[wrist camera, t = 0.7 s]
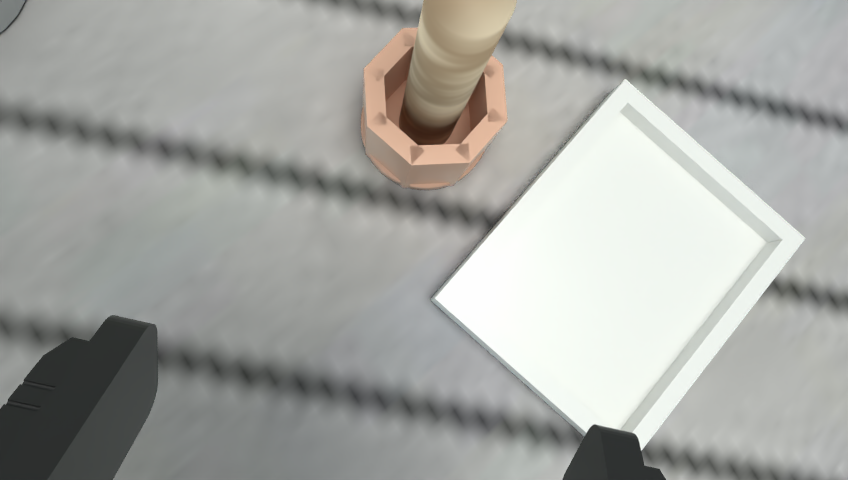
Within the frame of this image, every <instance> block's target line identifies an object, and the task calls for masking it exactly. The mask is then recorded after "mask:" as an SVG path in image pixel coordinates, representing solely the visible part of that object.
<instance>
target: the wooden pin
mask: <svg viewBox="0 0 848 480" xmlns="http://www.w3.org/2000/svg"><path fill="white" fill-rule="evenodd" d="M516 2H517V0H424V1H423V6H422V11H421V16H420V20H419V25H418V30H417V35H416V40H415V44H414V49H413V54H412V59H411V64H410V68H409V73H408V78H407V83H406V88H405V92H404V97H403V102H402V107H401V112H400V116H399V128H400V130H401V131H403V132H404V133H405V134H406V135H407V136H408V137H409V138H410V139H412V140H413V141H414V142H415V143H416V144H417V145H443V144H444V143H445V142H446V141H447V140H448V139H449V137H450V136H451V134H452V132H453V130H454V128H455V126H456V124H457V122H458V120H459V118H460V116H461V114H462V112H463V110H464V108H465V106H466V104H467V102H468V100H469V98H470V96H471V94H472V92H473V90H474V88H475V87H476V85H477V83H478V81H479V79H480V77H481V75H482V73H483V71H484V69H485V67H486V65H487V63H488V61H489V59H490V57H491V55H492V53H493V51H494V49H495V47H496V45H497V43H498V41H499V39H500V37H501V36H502V34H503V32H504V30H505V28H506V26H507V24H508V22H509V20H510V18H511V16H512V14H513V12H514V9H515V6H516Z"/></svg>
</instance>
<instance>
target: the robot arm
mask: <svg viewBox="0 0 848 480" xmlns="http://www.w3.org/2000/svg"><path fill="white" fill-rule="evenodd" d="M24 2H25V0H0V32H2V31H3V30H4V29H6V28H7V26H8V25H9V24H10V23H11V22H12V21H13V20H14V19H15V17H16V16H17V15H18V13H19V11H20V10H21V8H22V6H23V4H24ZM157 386H158V351H157V328H156V325H154V324H150V323H146V322H141V321H137V320H133V319H128V318H124V317H119V316H115V315H112V316H110V317H108V318H107V319H106V320H105V321H104V322H103V324H102V325H101V327H100V328H99V329H98V331H97V332H96V333H95V335H94V336H93V337H92V339H91V340H90V341H86V340H81V339H77V338H70V339H69V340H67V341H66V342H64V343H62V344H61V345H59V346H58V347H56V348H55V349H53V350H51V351H50V352H48V353H47V354H45V355H43V357H42V358H41V359H40V360H39V362H38V363H37V364H36V365H35V366H34V368H33V369H32V370H31V371H30V373H29V374H28V375H27V376H26V378H25V379H24V382H23V384H22V385H21V384H20V385H19V386H18V388H17V389H16V390H15V391H14V393H13V394H12V395H11V396H10V398H9V399H8V402H7V404H6V405H3V406H2V407H1V409H0V480H113V478H114V476H115V474H116V473H117V471H118V469H119V467H120V465H121V464H122V462H123V460H124V458H125V457H126V455H127V453H128V451H129V449H130V448H131V446H132V444H133V442H134V440H135V439H136V437H137V435H138V433H139V432H140V430H141V428H142V426H143V424H144V423H145V421H146V419H147V417H148V415H149V413H150V411H151V408H152V406H153V403H154V400H155V396H156V392H157ZM563 480H666V479H665V477H664V476H663V474H662V473H661V471H660V469H657V468H652V467H647V466H644V462H643V457H642V452H641V448H640V443H639V440H638V437H637V436H636V434H634V433H631V432H627V431H622V430H618V429H613V428H609V427H604V426H600V425H596V424H594V425H592V426H591V427H590V428H589V430H588V431H587V433H586V435H585V437H584V439H583V441H582V443H581V444H580V446H579V448H578V450H577V452H576V454H575V456H574V457H573V459H572V461H571V463H570V465H569V467H568V469H567V470H566V472H565V474H564V477H563Z"/></svg>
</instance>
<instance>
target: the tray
mask: <svg viewBox="0 0 848 480" xmlns="http://www.w3.org/2000/svg"><path fill="white" fill-rule="evenodd" d="M804 239H805V237H803V236H802V235H801V234H800V233H799V232H798V231H797V230H795V229H794V228H793V227H792V226H791V225H790V224H789V223H788V222H786V221H785V220H784V219H783V218H782V217H781V216H780V215H779V214H777V213H776V212H775V211H774V210H773V209H772V208H771V207H770V206H768V205H767V204H766V203H765V202H764V201H763V200H762V199H760V198H759V197H758V196H757V195H756V194H755V193H754V192H753V191H751V190H750V189H749V188H748V187H747V186H746V185H745V184H744V183H742V182H741V181H740V180H739V179H738V178H737V177H736V176H734V175H733V174H732V173H731V172H730V171H729V170H728V169H727V168H725V167H724V166H723V165H722V164H721V163H720V162H719V161H718V160H716V159H715V158H714V157H713V156H712V155H711V154H710V153H708V152H707V151H706V150H705V149H704V148H703V147H702V146H701V145H699V144H698V143H697V142H696V141H695V140H694V139H693V138H692V137H690V136H689V135H688V134H687V133H686V132H685V131H684V130H682V129H681V128H680V127H679V126H678V125H677V124H676V123H675V122H673V121H672V120H671V119H670V118H669V117H668V116H667V115H666V114H664V113H663V112H662V111H661V110H660V109H659V108H658V107H656V106H655V105H654V104H653V103H652V102H651V101H650V100H649V99H647V98H646V97H645V96H644V95H643V94H642V93H641V92H640V91H638V90H637V89H636V88H635V87H634V86H633V85H632V84H630V83H629V82H628V81H627V80H626V79H625V80H624V81H623V82H621V83H620V84H619V85H618V86H617V87H616V88H615V89H614V90H613V91H611V92H610V93H609V94H608V95H607V97H606V98H605V99H604V100H603V101H602V102H601V104H600V105H599V106H598V107H597V108H596V109H595V110H594V112H593V113H592V114H591V115H590V116H589V117H588V118H587V120H586V121H585V122H584V123H583V124H582V125H581V127H580V128H579V129H578V130H577V131H576V132H575V133H574V135H573V136H572V137H571V138H570V139H569V140H568V141H567V143H566V144H565V145H564V146H563V147H562V148H561V150H560V151H559V152H558V153H557V154H556V155H555V156H554V158H553V159H552V160H551V161H550V162H549V163H548V164H547V166H546V167H545V168H544V169H543V170H542V171H541V172H540V174H539V175H538V176H537V177H536V178H535V179H534V181H533V182H532V183H531V184H530V185H529V186H528V187H527V189H526V190H525V191H524V192H523V193H522V194H521V195H520V197H519V198H518V199H517V200H516V201H515V202H514V204H513V205H512V206H511V207H510V208H509V209H508V210H507V212H506V213H505V214H504V215H503V216H502V217H501V218H500V220H499V221H498V222H497V223H496V224H495V225H494V226H493V228H492V229H491V230H490V231H489V232H488V233H487V235H486V236H485V237H484V238H483V239H482V240H481V241H480V243H479V244H478V245H477V246H476V247H475V248H474V249H473V251H472V252H471V253H470V254H469V255H468V256H467V258H466V259H465V260H464V261H463V262H462V263H461V264H460V266H459V267H458V268H457V269H456V270H455V271H454V272H453V274H452V275H451V276H450V277H449V278H448V279H447V280H446V282H445V283H444V284H443V285H442V286H441V287H440V289H439V290H438V291H437V292H436V293H435V294H434V295H433V297H432V298H431V299H430V300H431V301H432V302H433V303H434V304H435V305H437V306H438V307H439V308H440V309H441V310H442V311H443V312H444V313H446V314H447V315H448V316H449V317H450V318H451V319H452V320H454V321H455V322H456V323H457V324H458V325H459V326H460V327H461V328H463V329H464V330H465V331H466V332H467V333H468V334H469V335H470V336H472V337H473V338H474V339H475V340H476V341H477V342H478V343H479V344H481V345H482V346H483V347H484V348H485V349H486V350H487V351H488V352H490V353H491V354H492V355H493V356H494V357H495V358H496V359H497V360H499V361H500V362H501V363H502V364H503V365H504V366H505V367H506V368H508V369H509V370H510V371H511V372H512V373H513V374H514V375H515V376H517V377H518V378H519V379H520V380H521V381H522V382H523V383H525V384H526V385H527V386H528V387H529V388H530V389H531V390H532V391H534V392H535V393H536V394H537V395H538V396H539V397H540V398H541V399H543V400H544V401H545V402H546V403H547V404H548V405H549V406H550V407H552V408H553V409H554V410H555V411H556V412H557V413H558V414H559V415H561V416H562V417H563V418H564V419H565V420H566V421H567V422H568V423H570V424H571V425H572V426H573V427H574V428H575V429H576V430H577V431H579V432H580V433H581V434H582V435H583V436H584V437H585V435H586V433H587V431H588V430H589V428H590V427H591V426H592V425H594V424H596V425H600V426H604V427H609V428H613V429H618V430H622V431H627V432H631V433H634V434H636V436H637V437H638V440H639V443H640V448H641V450H642V449H643V448H644V446H645V445H646V444H647V443H648V441H649V440H650V439H651V437H652V436H653V435H654V434H655V432H656V431H657V430H658V428H659V427H660V426H661V424H662V423H663V422H664V421H665V419H666V418H667V417H668V415H669V414H670V413H671V412H672V410H673V409H674V408H675V406H676V405H677V404H678V402H679V401H680V400H681V399H682V397H683V396H684V395H685V393H686V392H687V391H688V390H689V388H690V387H691V386H692V384H693V383H694V382H695V380H696V379H697V378H698V377H699V375H700V374H701V373H702V371H703V370H704V369H705V368H706V366H707V365H708V364H709V362H710V361H711V360H712V358H713V357H714V356H715V355H716V353H717V352H718V351H719V349H720V348H721V347H722V346H723V344H724V343H725V342H726V340H727V339H728V338H729V336H730V335H731V334H732V333H733V331H734V330H735V329H736V327H737V326H738V325H739V324H740V322H741V321H742V320H743V318H744V317H745V316H746V315H747V313H748V312H749V311H750V309H751V308H752V307H753V305H754V304H755V303H756V302H757V300H758V299H759V298H760V296H761V295H762V294H763V293H764V291H765V290H766V289H767V287H768V286H769V285H770V283H771V282H772V281H773V280H774V278H775V277H776V276H777V274H778V273H779V272H780V271H781V269H782V268H783V267H784V265H785V264H786V263H787V261H788V260H789V259H790V258H791V256H792V255H793V254H794V252H795V251H796V250H797V249H798V247H799V246H800V245H801V243H802V242H803V241H804Z"/></svg>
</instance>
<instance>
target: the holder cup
mask: <svg viewBox="0 0 848 480" xmlns="http://www.w3.org/2000/svg"><path fill="white" fill-rule="evenodd" d="M417 30H418V28H402V29H401V30H400V31H399V32H398V33H397V35H396V36H395V37H394V38H393V39H392V40H391V41H390V42H389V43H388V44H387V45H386V46H385V47H384V48H383V49H382V50H381V51H380V52H379V53H378V54H377V55H376V56H375V58H374V59H373V60H372V61H371V62H370V63H369V64H368V65H367V66H366V67H365V68H364V76H363V108H362V114H361V135H362V141H363V144H364V147H365V152H366V155H367V156H368V157H369V158H370V160H371V161H372V163H373V164H374V165H375V167H376V168H377V169H378V170H379V171H380V172H381V173H382V174H383V175H385V176H386V177H387V178H388V179H390V180H392V181H393V182H395V183H397V184H399V185H401V186H402V187H403V188H411V189H417V190H435V189H440V188H444V187H447V186H454V184H455V183H456V182H458V181H459V180H461V179H462V178H463V177H465V176H466V175H467V174H468V173H469V172H470V171H471V170H472V169H473V168H474V167H475V165H476V164H477V163H478V161H479V160H480V159H481V157H482V155H483V153H484V151H485V150H486V148H487V147H488V146H489V145H490V143H491V142H492V141H493V139H494V138H495V137H496V135H497V134H498V133H499V131H500V130H501V129H502V127H503V126H504V125H505V124H506V122H507V110H506V98H505V85H504V73H503V65H502V64H501V63H500V62H499V61H498V60H497V59H496V58H494V57H493V56H492V55H491V57H490V59H489V61H488V63H487V65H486V67H485V69H484V71H483V73H482V75H481V77H480V79H479V81H478V83H477V85H476V87H475V88H474V90H473V92H472V94H471V96H470V98H469V100H468V102H467V104H466V106H465V108H464V110H463V112H462V114H461V116H460V118H459V120H458V122H457V124H456V126H455V128H454V130H453V132H452V134H451V136H450V137H449V139H448V140H447V141H446V142H445V143H444V144H443V145H417V144H416V143H415V142H414V141H413V140H412V139H410V138H409V137H408V136H407V135H406V134H405V133H404V132H403V131H401V130H400V128H399V116H400V112H401V107H402V102H403V97H404V92H405V88H406V83H407V78H408V73H409V68H410V64H411V59H412V54H413V49H414V44H415V40H416V35H417Z"/></svg>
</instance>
